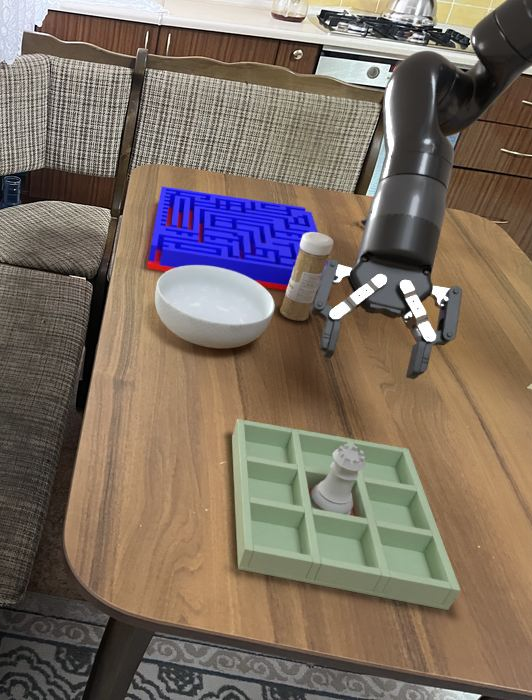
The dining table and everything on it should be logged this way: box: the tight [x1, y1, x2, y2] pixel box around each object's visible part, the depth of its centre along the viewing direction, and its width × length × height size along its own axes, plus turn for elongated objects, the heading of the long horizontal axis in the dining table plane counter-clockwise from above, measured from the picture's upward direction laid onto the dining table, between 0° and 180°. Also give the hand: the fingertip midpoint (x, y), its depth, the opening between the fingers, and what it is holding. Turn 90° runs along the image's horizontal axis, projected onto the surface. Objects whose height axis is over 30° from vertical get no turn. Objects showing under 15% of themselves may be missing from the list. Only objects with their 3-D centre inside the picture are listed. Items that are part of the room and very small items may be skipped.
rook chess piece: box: [309, 444, 366, 515], centre depth 71 cm, size 4×4×8 cm
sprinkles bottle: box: [279, 232, 335, 322], centre depth 105 cm, size 5×5×14 cm
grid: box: [231, 418, 461, 611], centre depth 72 cm, size 20×20×3 cm
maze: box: [146, 186, 328, 292], centre depth 127 cm, size 30×30×4 cm
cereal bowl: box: [154, 265, 276, 349], centre depth 100 cm, size 17×17×7 cm
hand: (369, 366), depth 72 cm, fingers open, 8 cm apart
